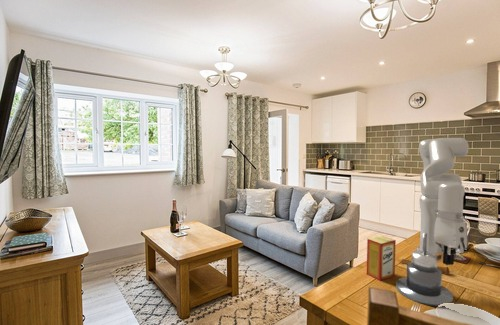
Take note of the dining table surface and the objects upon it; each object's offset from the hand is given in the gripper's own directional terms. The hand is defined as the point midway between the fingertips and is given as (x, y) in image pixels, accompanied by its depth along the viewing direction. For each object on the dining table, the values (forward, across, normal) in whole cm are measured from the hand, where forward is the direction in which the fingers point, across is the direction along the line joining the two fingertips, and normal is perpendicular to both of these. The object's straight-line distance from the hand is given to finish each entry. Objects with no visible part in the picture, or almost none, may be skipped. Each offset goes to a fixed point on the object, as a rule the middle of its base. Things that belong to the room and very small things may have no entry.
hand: (448, 263), depth 99 cm
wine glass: (+10, +39, -47) cm, 62 cm away
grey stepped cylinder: (+11, +2, +9) cm, 14 cm away
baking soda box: (+11, +17, +16) cm, 26 cm away
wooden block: (+1, +2, +4) cm, 5 cm away
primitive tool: (+11, +20, -8) cm, 25 cm away
